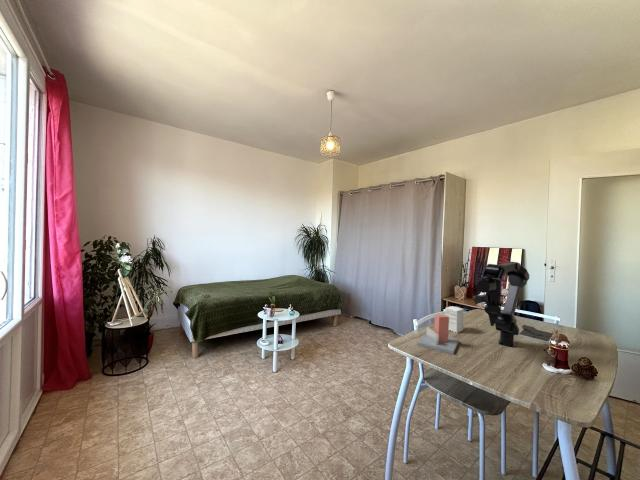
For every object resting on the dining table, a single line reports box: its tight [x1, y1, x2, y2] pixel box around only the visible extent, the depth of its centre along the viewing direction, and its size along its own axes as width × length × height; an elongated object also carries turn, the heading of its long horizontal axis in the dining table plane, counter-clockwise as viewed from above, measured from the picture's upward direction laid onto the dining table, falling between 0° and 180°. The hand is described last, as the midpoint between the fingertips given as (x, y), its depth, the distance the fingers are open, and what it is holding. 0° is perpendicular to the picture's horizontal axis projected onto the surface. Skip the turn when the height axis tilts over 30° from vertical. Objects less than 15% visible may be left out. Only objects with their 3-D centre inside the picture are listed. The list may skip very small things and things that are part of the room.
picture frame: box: [514, 324, 555, 346], centre depth 147 cm, size 16×3×21 cm
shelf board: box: [416, 331, 460, 355], centre depth 134 cm, size 18×16×2 cm
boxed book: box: [434, 314, 449, 342], centre depth 134 cm, size 5×4×12 cm
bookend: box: [426, 326, 439, 345], centre depth 134 cm, size 10×1×5 cm, turn 3°
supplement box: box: [444, 305, 465, 334], centre depth 154 cm, size 7×7×13 cm
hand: (492, 323), depth 128 cm, fingers open, 9 cm apart
